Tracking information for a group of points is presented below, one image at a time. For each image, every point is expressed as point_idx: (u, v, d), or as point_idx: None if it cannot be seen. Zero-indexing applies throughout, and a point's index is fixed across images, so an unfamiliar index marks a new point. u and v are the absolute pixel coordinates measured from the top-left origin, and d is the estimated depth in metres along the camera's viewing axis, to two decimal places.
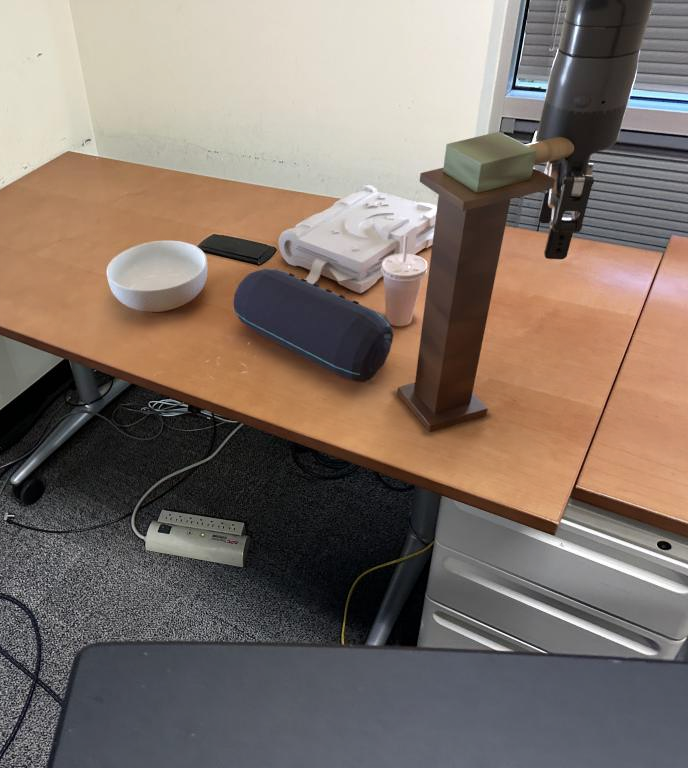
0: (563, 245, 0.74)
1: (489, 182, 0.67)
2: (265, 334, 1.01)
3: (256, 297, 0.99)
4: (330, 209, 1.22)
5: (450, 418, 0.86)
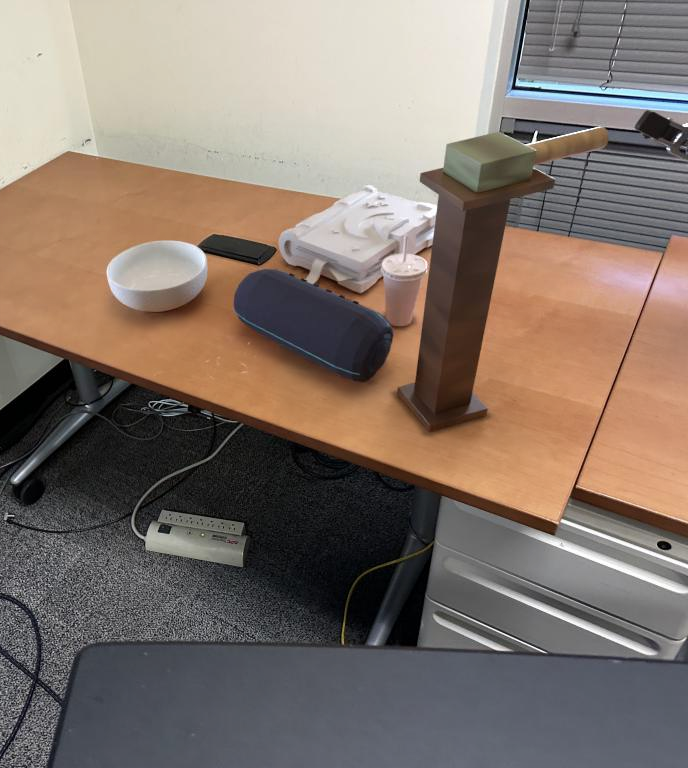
0: None
1: (489, 182, 0.67)
2: (265, 334, 1.01)
3: (256, 297, 0.99)
4: (330, 209, 1.21)
5: (450, 418, 0.86)
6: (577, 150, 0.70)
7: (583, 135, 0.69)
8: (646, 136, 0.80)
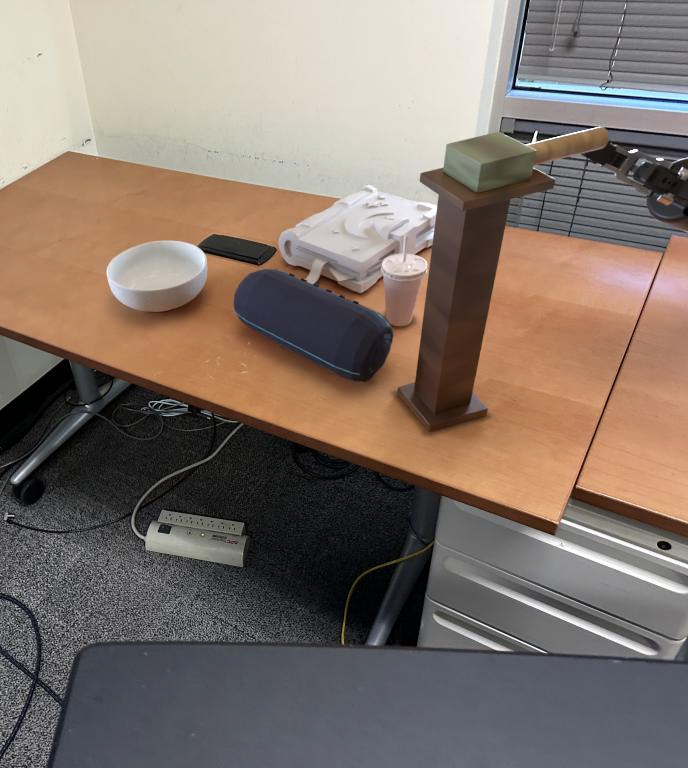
0: (665, 186, 0.70)
1: (489, 182, 0.67)
2: (265, 334, 1.01)
3: (256, 297, 0.99)
4: (330, 209, 1.21)
5: (450, 418, 0.86)
6: (577, 150, 0.70)
7: (583, 135, 0.69)
8: (594, 161, 0.80)
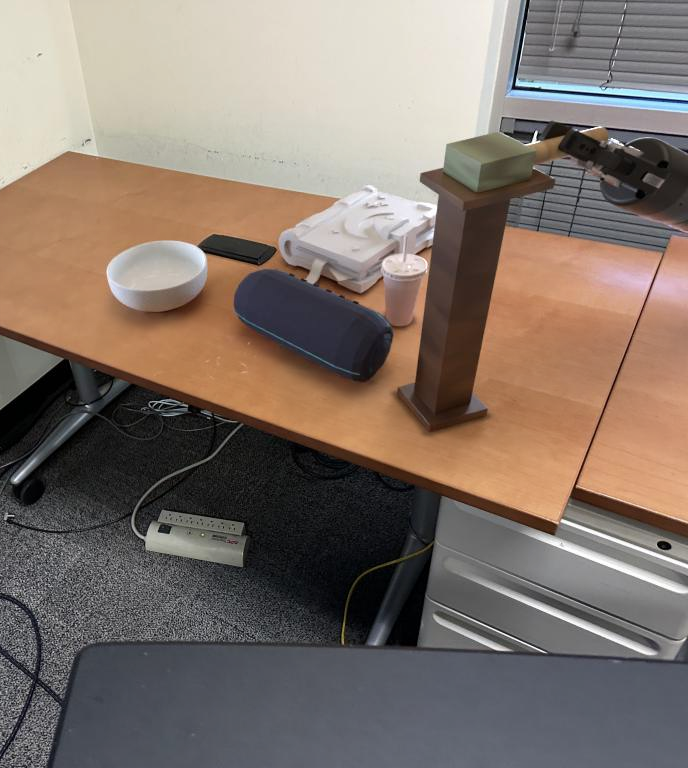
0: (583, 152, 0.68)
1: (489, 182, 0.67)
2: (265, 334, 1.01)
3: (256, 297, 0.99)
4: (330, 209, 1.21)
5: (450, 418, 0.86)
6: None
7: None
8: None
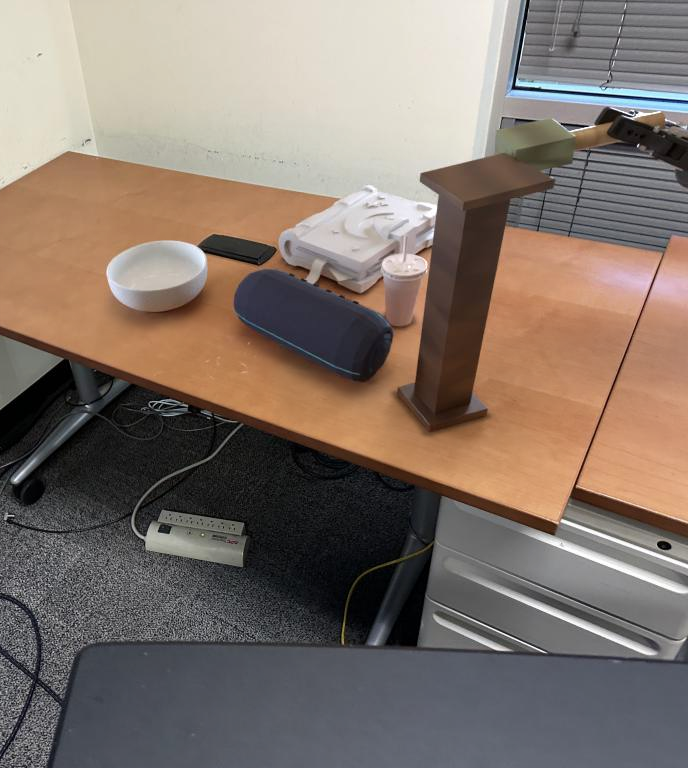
0: (632, 138, 0.72)
1: None
2: (265, 334, 1.01)
3: (256, 297, 0.99)
4: (330, 209, 1.21)
5: (450, 418, 0.86)
6: None
7: None
8: None
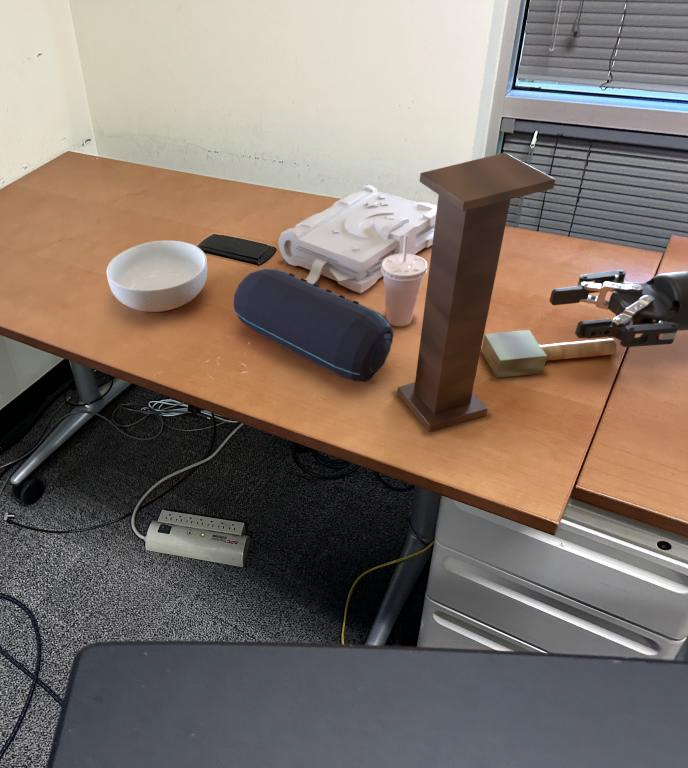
0: (597, 335, 0.85)
1: (506, 372, 0.91)
2: (265, 334, 1.01)
3: (256, 297, 0.99)
4: (330, 209, 1.21)
5: (450, 418, 0.86)
6: (588, 354, 0.92)
7: (594, 344, 0.91)
8: None
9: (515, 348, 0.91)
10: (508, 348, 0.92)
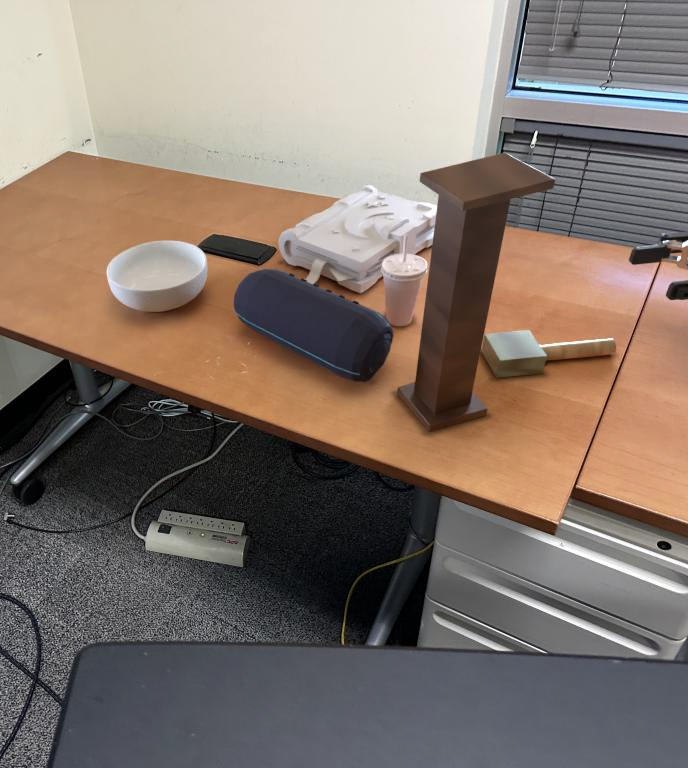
0: None
1: (506, 372, 0.91)
2: (265, 334, 1.01)
3: (256, 297, 0.99)
4: (330, 209, 1.21)
5: (450, 418, 0.86)
6: (588, 354, 0.92)
7: (594, 344, 0.91)
8: None
9: (515, 348, 0.91)
10: (508, 348, 0.92)
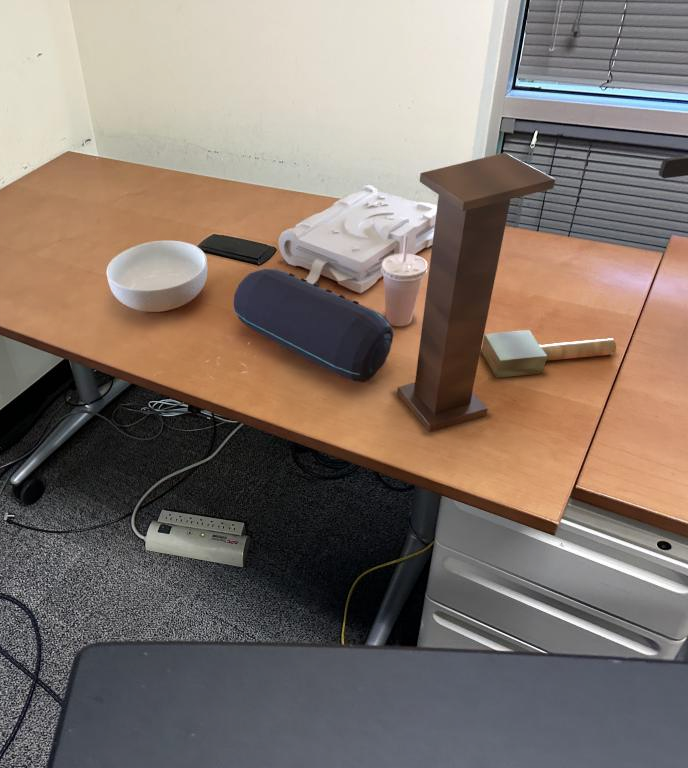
0: None
1: (506, 372, 0.91)
2: (265, 334, 1.01)
3: (256, 297, 0.99)
4: (330, 209, 1.21)
5: (450, 418, 0.86)
6: (588, 354, 0.92)
7: (594, 344, 0.91)
8: None
9: (515, 348, 0.91)
10: (508, 348, 0.92)
